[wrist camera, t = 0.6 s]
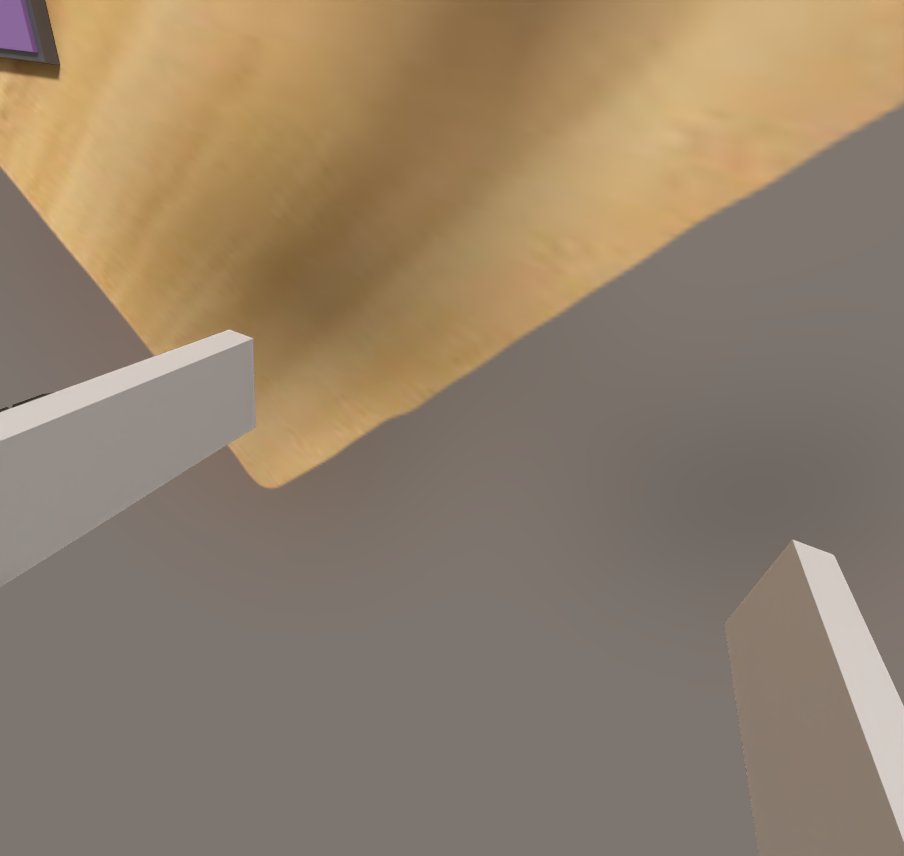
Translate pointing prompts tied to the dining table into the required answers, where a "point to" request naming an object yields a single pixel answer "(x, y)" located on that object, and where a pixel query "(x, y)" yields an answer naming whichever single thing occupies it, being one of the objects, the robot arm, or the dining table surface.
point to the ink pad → (26, 32)
